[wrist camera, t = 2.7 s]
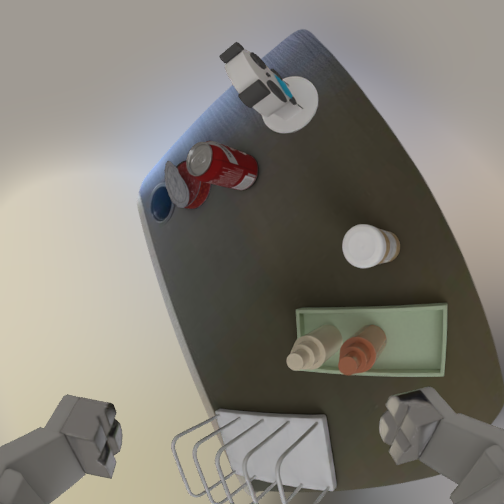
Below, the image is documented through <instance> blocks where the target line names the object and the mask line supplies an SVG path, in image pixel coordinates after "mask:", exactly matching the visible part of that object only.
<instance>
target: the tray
mask: <svg viewBox="0 0 504 504" xmlns="http://www.w3.org/2000/svg"><path fill="white" fill-rule="evenodd" d="M296 321H297V338H300V337H302V336H304V335H305V334H307V333H309V332H311V331H313V330H314V329H316V328H318V327H320V326H322V325H326V324H327V325H332V326H334V327H336V328H337V329H338V330H339V331H340V333H341V335H342V338H343V343H344V342H345V341H346V340H347V339H349V338H350V337H351V336H352V335H353V334H354V333H356V332H357V331H358V330H359V329H360V328H361V327H363V326H365V325H376V326H378V327H380V328H381V329H382V330H383V331H384V333H385V335H386V338H387V343H386V347H385V349H384V350H383V352H382V353H381V355H380V356H379V358H378V359H377V361H376V362H375V363H374V365H373V366H372V367H371V368H370V369H369V370H368V371H366V372H363V373H357V374H352V375H365V376H393V377H436V376H444V370H445V357H446V341H447V303H433V304H416V305H396V306H370V307H323V308H299V309H297V310H296ZM343 343H342V345H343ZM339 357H340V350H339V351H338V352H337V353H336V354H335V355H333V356H332V357H331V358H330V359H329V360H327V361H326V362H325V363H324V364H323V365H321V366H320V367H319V368H317V369H313V370H309V369H306V370H302V369H300V371H311V372H321V373H333V374H343V373H341V372H340V370H339V368H338V363H339Z"/></svg>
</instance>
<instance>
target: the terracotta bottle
mask: <svg viewBox="0 0 504 504" xmlns="http://www.w3.org/2000/svg"><path fill="white" fill-rule="evenodd" d="M386 343H387V338H386V335H385V333H384V331H383V330H382V329H381V328H380V327H378V326H376V325H365V326H363V327H361V328H360V329H359V330H358V331H357V332H356V333H354V334H353V335H352V336H351V337H350V338H349V339H347V340H346V341H345V342H344V343H343V345H342V346H341V349H340V357H339V363H338V368H339V370H340V372H341V373H343V374H344V375H352V374H357V373H363V372H366V371H368V370H369V369H370V368H371V367H372V366H373V365H374V363H375V362H376V361H377V359H378V358H379V356H380V355H381V353H382V352H383V350H384V349H385V347H386Z"/></svg>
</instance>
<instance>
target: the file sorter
mask: <svg viewBox="0 0 504 504" xmlns="http://www.w3.org/2000/svg"><path fill="white" fill-rule="evenodd" d="M215 413H216V416H214V417H212V418H210V419H208V420H206V421H204V422H202V423H200V424H198V425H196V426H194V427H192V428H190V429H188V430H186V431H184V432H182V433H180V434H178V435H176V436H175V437H174V439H173V440H172V444H171V449H172V452H173V455H174V458H175V460H176V463H177V466H178V469H179V471H180V474H181V476H182V479H183V482H184V484H185V486H186V489H187V491H188V493H189V494H190V495H191V496H193V497H200V496H202V495H204V494H205V493H207V496H208V498H209V500H210V502H211V503H212V504H223V503H225V502H226V501H227V500H229V502H230V504H234V502H233V499H232V497H233V496H234V495H235V494H237V493H238V492H239V491H240V490H241V489H243V488H244V487H245V486H246V485H247V486H248V489H249V492H250V494H251V497H252V500H253V502H252V503H251V504H259V503H258V501H259V500H260V499H261V498H262V497H263V496H264V495H265V494H266V493H267V492H268V491H269V490H270V489H272V488H273V487H274V486H275V485H276V484H277V485H278V489H279V493H280V497H281V501H282V504H288V502H289V501H290V500H291V499H292V498H293V497H294V496H295V494H296V493H297V492H298V491H299V490H300V489H301V488H308V489H316V490H324V491H323V493H322V494H321V495H320V496H319V497H318V499H317V500H316V501H315V502H314V503H313V504H318V503H319V501H320V500H321V499H322V498H323V496H324V495H325V494H326V493H327V491H334V489H335V488H336V487H337V483H336V476H335V469H334V462H333V456H332V450H331V443H330V437H329V431H328V425H327V418H326V415H324V414H320V415H305V414H276V413H261V412H249V411H238V410H228V409H218V410H217V411H215ZM216 418H217V421H218V424H219V428H220V429H218V430H216V431H215V432H213V433H211V434H210V435H208V436H206V437H204V438H203V439H201V440H200V441H198V442H197V443H196V444H195V446H194V448H193V459H194V462H195V465H196V468H197V470H198V473H199V476H200V478H201V481H202V483H203V485H204V488H205V491H203V492H202V493H200V494H198V495H194V494H193V493H192V492H191V490H190V488H189V485H188V483H187V480H186V478H185V475H184V473H183V470H182V468H181V465H180V462H179V459H178V456H177V453H176V450H175V443H176V441H177V439H178V438H179V437H181V436H183V435H185V434H187V433H189V432H191V431H192V430H195V429H197V428H199V427H201V426H203V425H204V424H206V423H209V422H211V421H212V420H214V419H216ZM219 432H221V435H222V439H223V442H224V446H222V447H221V448H220V449H219V451H218V452H217V454H216V458H215V465H216V468H217V471H218V474H219V476H220V479H221V480H220V481H219V482H217V483H216V484H214V485H213V486H211V487H210V488H208V486H207V484H206V481H205V478H204V476H203V473H202V471H201V468H200V465H199V462H198V459H197V455H196V453H197V448H198V447H199V445H200V444H201V443H203V442H204V441H206V440H207V439H209V438H211V437H212V436H214V435H216V434H218V433H219ZM225 449H226V452H227V456H228V459H229V462H230V466H231V469H232V473H230V474H229V475H227V476H226V477H224V475H223V473H222V470H221V467H220V463H219V459H220V455H221V453H222V452H223V450H225ZM233 474H237V475H241V476H244V478H245V481H246V483H244V484H243V485H242V486H241V487H239V488H238V489H237V490H236V491H234V492H233V493H232V494H230V492H229V489H228V487H227V484H226V481H225V480H226V479H228V478H229V477H230V476H232V475H233ZM250 478H251V479H250ZM253 479H258V480H262V481H267V482H272V483H273V484H272V485H270V486H269V487H268V488H267V489H266V490H265V491H264V492H263V493H262V494H261V495H260V496H259V497H257V498H256V495H255V492H254V490H253V487H252V484H251V481H252V480H253ZM220 483H222V485H223V487H224V490H225V492H226V495H227V497H226V498H225V499H224V500H222V501H221V502H219V503H216V502H214V500H213V499H212V496H211V494H210V490H212V489H213V488H214V487H216V486H218V485H219V484H220ZM283 485H288V486H294V487H297V489H296V490H295V491H294V492H293V493H292V494H291V496H290V497H289V498H288V499H287V500H286V498H285V494H284V490H283Z"/></svg>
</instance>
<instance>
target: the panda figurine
mask: <svg viewBox="0 0 504 504" xmlns="http://www.w3.org/2000/svg"><path fill="white" fill-rule="evenodd" d="M220 58H221V60H222V61H223V62H224V63H227V64H226V65H225V69H226V72H227V74H228V77H229V78H230V80H231V82H232V84H233V85H234V87H235V89H236V90H237V91H238V93H239V95H238V96H239V98H240V99H241V101H242V102H243V103H244V104H245V105H246V106H248V107H249V108H252V107H253V108H254V109H255V110H256V111H257V112H259V113H260V114H262V118H263V120H264V122H265V124H266V125H267V126H268V127H269V128H270V129H271V130H273V131H275V132H278V133H292V132H295V131H298V130H300V129H301V128H303V127H304V126H306V125H307V124H308V123H309V122H310V121H311V119H312V118H313V116H314V115H315V113H316V110H317V107H318V100H319V99H318V93H317V90H316V88H315V87H314V85H313V84H312V83H311V82H310V81H308V80H307V79H305V78H302V77H295V76H294V77H287V78H284V79H282V78H281V76H280V75H279V74H278V73H277V72H276V71H275V70H274V69H271V70H270V69H269V68H268V67H267V66H266V65H265V63H264V62H263V61H262V60H261V59H260V58H259V57H258V56H257V55H256V54H254V53H251V52H249V51H247V50H244V48H243V47H242V46H241V45H240V44H239V43H237V42H236V43H234V44H233V45H232V46H231V47H230V48H228V49H227V50H226V51H225V52H224V53H222V54H221V55H220Z"/></svg>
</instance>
